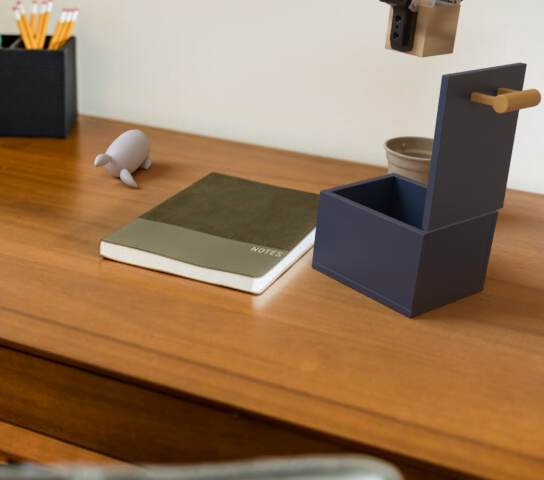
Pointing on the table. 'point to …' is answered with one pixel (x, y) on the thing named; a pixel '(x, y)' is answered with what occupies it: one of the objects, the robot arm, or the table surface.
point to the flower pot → (409, 156)
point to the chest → (399, 245)
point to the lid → (474, 142)
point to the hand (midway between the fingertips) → (419, 47)
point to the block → (432, 28)
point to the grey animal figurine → (126, 156)
